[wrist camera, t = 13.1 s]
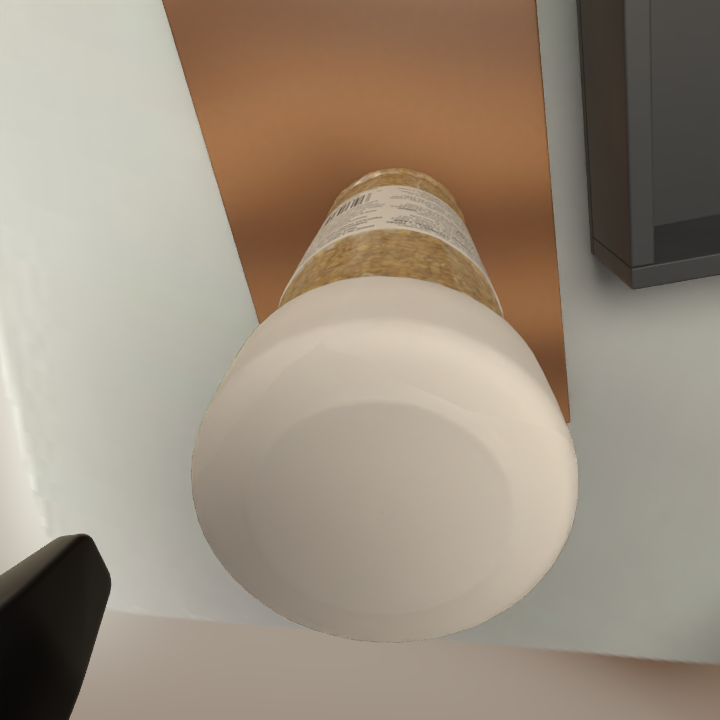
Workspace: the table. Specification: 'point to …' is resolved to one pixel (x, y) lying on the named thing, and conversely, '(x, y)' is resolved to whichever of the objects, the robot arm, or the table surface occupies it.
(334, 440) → the sprinkles bottle
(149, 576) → the table surface
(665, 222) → the bin
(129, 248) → the table surface
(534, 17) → the brown wooden board
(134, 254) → the table surface
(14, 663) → the robot arm
